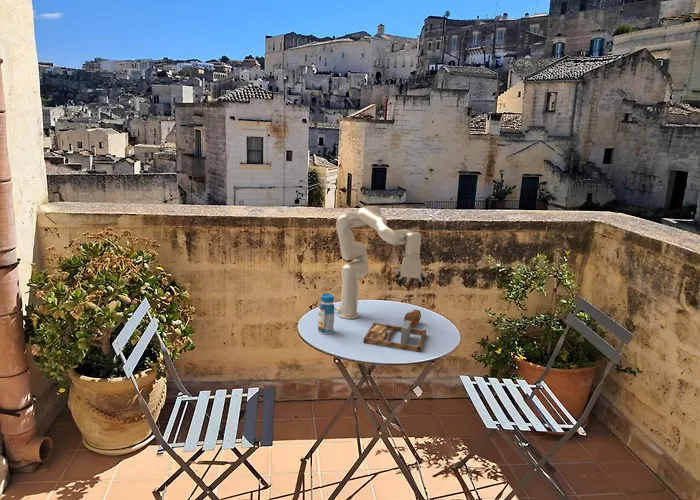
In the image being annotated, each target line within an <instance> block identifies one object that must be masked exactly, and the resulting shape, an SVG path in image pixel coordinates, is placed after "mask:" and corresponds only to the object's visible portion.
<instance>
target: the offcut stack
mask: <svg viewBox="0 0 700 500" xmlns="http://www.w3.org/2000/svg"><path fill="white" fill-rule="evenodd" d="M370 334H371V335H370V337H369V338H371V339H377V340H383V341H385V339H386V338H387V336H388V334H389V330H387V328H386V326H381V325H376V326H375V327H374V328H373V329H372V330H371V331H370Z"/></svg>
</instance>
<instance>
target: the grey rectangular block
mask: <svg viewBox="0 0 700 500" xmlns="http://www.w3.org/2000/svg"><path fill="white" fill-rule="evenodd" d="M401 327H402V332H400V334H401V335H400V343H402V344H408V343H409V339H410V337H411V334H410V328H412V327H411V321H407V320H405V322H404V321H403V325H402V326H401Z"/></svg>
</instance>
